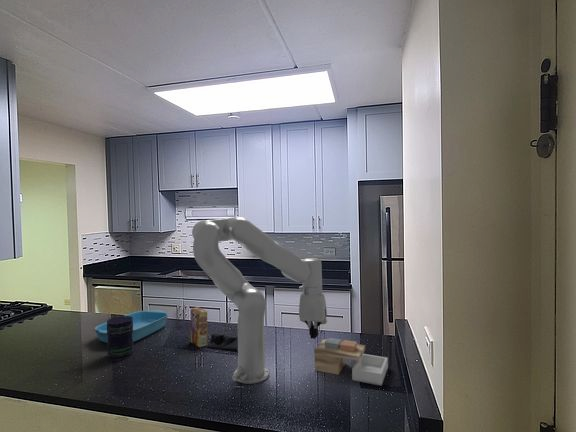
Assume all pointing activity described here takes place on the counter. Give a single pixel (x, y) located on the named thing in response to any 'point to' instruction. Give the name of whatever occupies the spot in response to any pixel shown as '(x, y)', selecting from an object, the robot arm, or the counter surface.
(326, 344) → the slate tile
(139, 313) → the casserole dish
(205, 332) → the candy box
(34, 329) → the counter surface
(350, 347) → the terracotta tile
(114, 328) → the storage jar
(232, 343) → the black flat block
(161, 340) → the counter surface
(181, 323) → the counter surface
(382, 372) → the tray
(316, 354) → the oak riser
